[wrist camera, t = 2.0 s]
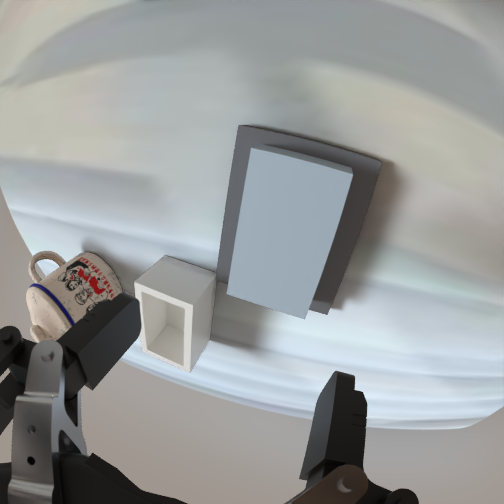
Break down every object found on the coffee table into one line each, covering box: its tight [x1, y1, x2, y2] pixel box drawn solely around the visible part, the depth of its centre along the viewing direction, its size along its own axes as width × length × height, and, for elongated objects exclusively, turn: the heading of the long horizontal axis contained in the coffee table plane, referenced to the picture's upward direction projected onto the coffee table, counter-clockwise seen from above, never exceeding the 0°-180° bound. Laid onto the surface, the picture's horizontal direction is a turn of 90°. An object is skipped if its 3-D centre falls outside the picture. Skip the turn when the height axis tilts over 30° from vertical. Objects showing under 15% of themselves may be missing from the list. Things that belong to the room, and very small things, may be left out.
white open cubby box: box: [134, 255, 217, 373], centre depth 26 cm, size 9×6×5 cm, turn 169°
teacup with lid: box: [26, 251, 122, 343], centre depth 27 cm, size 12×9×12 cm
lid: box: [227, 144, 353, 319], centre depth 20 cm, size 11×6×3 cm, turn 169°
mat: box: [216, 125, 382, 315], centre depth 21 cm, size 13×10×1 cm
